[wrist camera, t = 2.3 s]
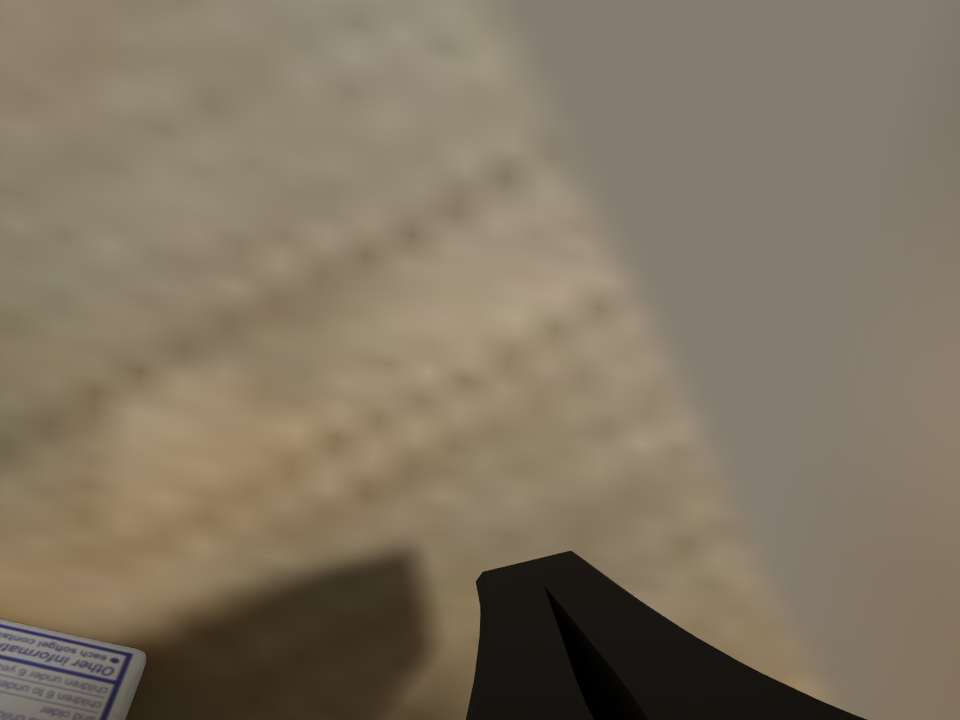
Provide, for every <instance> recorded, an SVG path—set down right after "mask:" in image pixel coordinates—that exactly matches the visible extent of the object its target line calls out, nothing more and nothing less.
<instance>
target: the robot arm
mask: <svg viewBox="0 0 960 720" xmlns="http://www.w3.org/2000/svg"><path fill="white" fill-rule="evenodd" d="M476 585H477V591H478V596H479V601H480V611H481V617H480V637H479V646H478V654H477V662H476V671H475V677H474V683H473V688H472V693H471V698H470V703H469V707H468V712H467V717H466V720H866V719H864V718H861V717H859V716H856V715H853V714H851V713H848V712H846V711H844V710H841V709H839V708H836V707H834V706H832V705H829V704H827V703H824V702H822V701H820V700H818V699H815V698H813V697H811V696H809V695H807V694H805V693H802V692H800V691H798V690H796V689H794V688H792V687H790V686H788V685H785V684H783V683H781V682H779V681H777V680H775V679H773V678H770V677H768V676H766V675H764V674H762V673H760V672H758V671H756V670H754V669H752V668H751V667H749V666H747V665H745V664H743V663H741V662H739V661H737V660H735V659H734V658H732V657H730V656H728V655H727V654H725V653H723V652H721V651H720V650H718V649H716V648H714V647H713V646H711V645H709V644H707V643H705V642H704V641H702V640H700V639H698V638H697V637H695V636H693V635H692V634H690V633H689V632H687V631H685V630H684V629H682V628H681V627H679V626H678V625H676V624H675V623H673V622H672V621H670V620H669V619H667V618H665V617H664V616H662V615H661V614H659V613H658V612H656V611H655V610H653V609H652V608H650V607H649V606H647V605H646V604H644V603H643V602H642V601H640V600H639V599H637V598H636V597H634V596H633V595H631V594H630V593H629V592H627V591H626V590H625V589H623V588H622V587H620V586H619V585H618V584H616V583H615V582H613V581H612V580H611V579H609V578H608V577H607V576H605V575H604V574H603V573H601V572H600V571H599V570H597V569H596V568H594V567H593V566H592V565H590V564H589V563H588V562H586V561H585V560H584V559H582V558H581V557H579V556H578V555H576V554H575V553H574V552H572V551H568V552H564V553H559V554H555V555H551V556H547V557H543V558H539V559H535V560H530V561H526V562H522V563H518V564H514V565H510V566H505V567H501V568H497V569H493V570H489V571H485V572H482V574H481V575H480V577H479V578H478V579H477V581H476Z"/></svg>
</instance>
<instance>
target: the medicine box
mask: <svg viewBox="0 0 960 720" xmlns="http://www.w3.org/2000/svg"><path fill="white" fill-rule="evenodd" d="M145 664H146V655H145V653H144V652H143V651H141V650H138V649H135V648H130V647H126V646H121V645H116V644H111V643H107V642H102V641H97V640H93V639H88V638H84V637H79V636H74V635H70V634H65V633H60V632H56V631H51V630H47V629H42V628H38V627H33V626H29V625H24V624H20V623H15V622H11V621H6V620H2V619H0V720H125V719H126V716H127V714H128V711H129V708H130V706H131V703H132V700H133V697H134V695H135V692H136V689H137V687H138V684H139V681H140V679H141V676H142V673H143V670H144V667H145Z"/></svg>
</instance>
